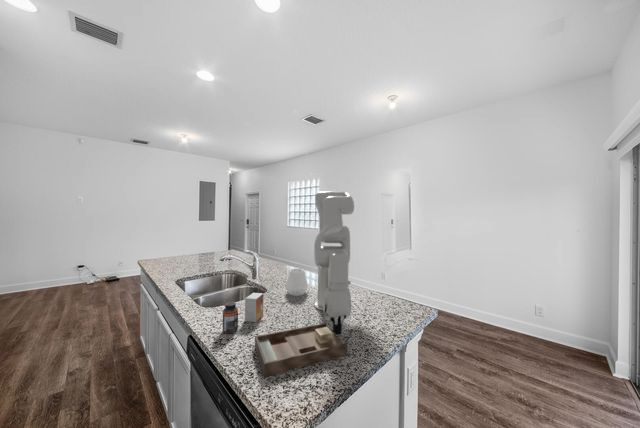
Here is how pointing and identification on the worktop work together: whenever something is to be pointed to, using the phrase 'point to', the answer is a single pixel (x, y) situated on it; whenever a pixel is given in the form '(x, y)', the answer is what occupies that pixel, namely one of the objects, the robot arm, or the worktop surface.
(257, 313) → the small box
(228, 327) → the supplement bottle
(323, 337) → the maple block
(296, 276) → the cup
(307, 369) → the worktop surface
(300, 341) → the box
